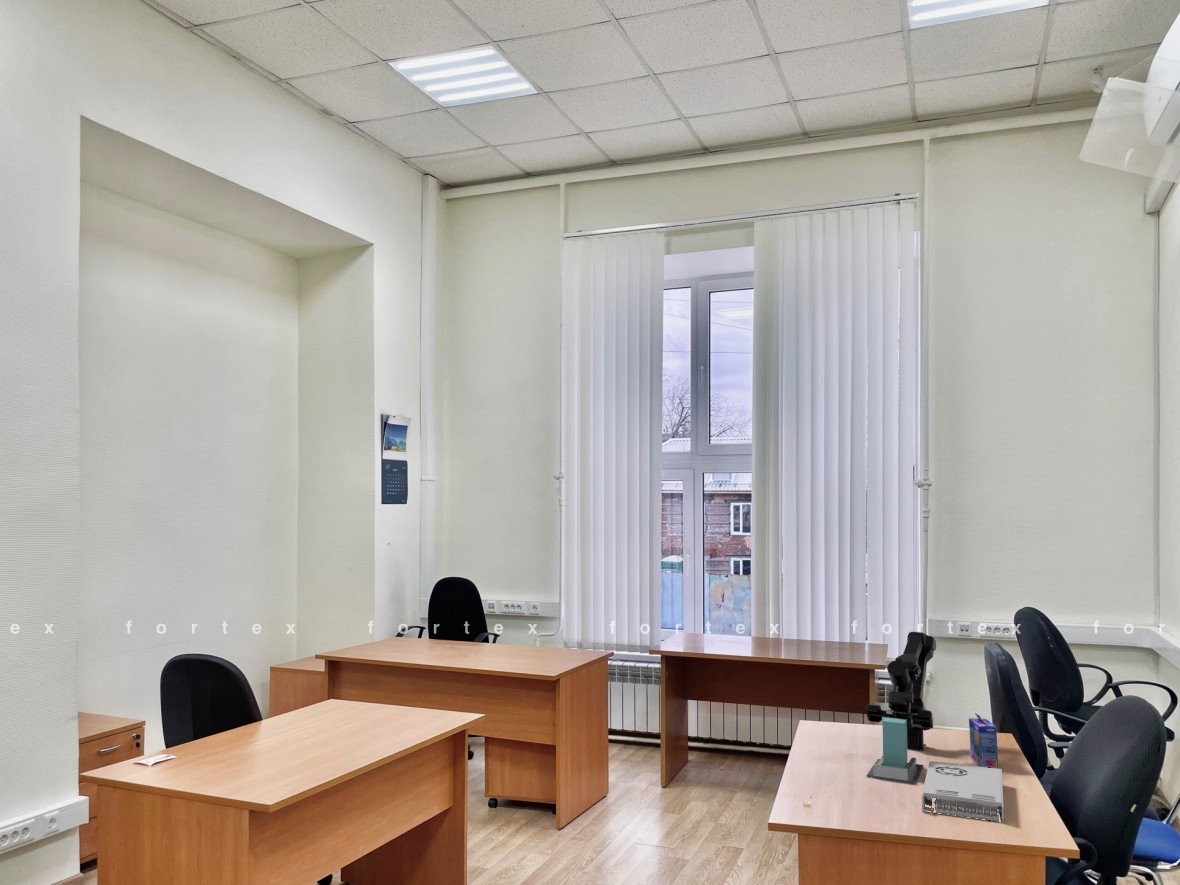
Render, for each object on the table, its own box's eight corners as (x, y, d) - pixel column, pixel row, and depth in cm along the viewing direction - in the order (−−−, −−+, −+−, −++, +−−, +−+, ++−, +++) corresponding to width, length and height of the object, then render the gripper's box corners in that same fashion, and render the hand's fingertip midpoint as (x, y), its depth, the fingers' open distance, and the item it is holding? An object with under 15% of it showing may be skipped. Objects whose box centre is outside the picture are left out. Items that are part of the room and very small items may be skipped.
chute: (878, 760, 271) (877, 748, 272) (923, 766, 265) (923, 754, 266) (866, 776, 255) (866, 764, 256) (914, 783, 249) (914, 770, 250)
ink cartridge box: (968, 758, 275) (967, 710, 276) (987, 758, 274) (986, 710, 275) (979, 767, 265) (978, 718, 266) (999, 768, 264) (997, 718, 265)
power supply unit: (921, 815, 226) (921, 794, 227) (929, 778, 257) (929, 760, 257) (1004, 826, 219) (1003, 805, 219) (1002, 787, 249) (1001, 769, 249)
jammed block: (886, 765, 264) (885, 717, 265) (907, 768, 261) (906, 719, 262) (883, 770, 259) (882, 721, 260) (904, 773, 256) (904, 723, 257)
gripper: (866, 677, 273) (859, 721, 263) (931, 683, 265) (927, 729, 254) (871, 698, 280) (865, 742, 269) (935, 705, 271) (931, 751, 260)
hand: (896, 740), depth 263 cm, fingers closed, pressing on jammed block
